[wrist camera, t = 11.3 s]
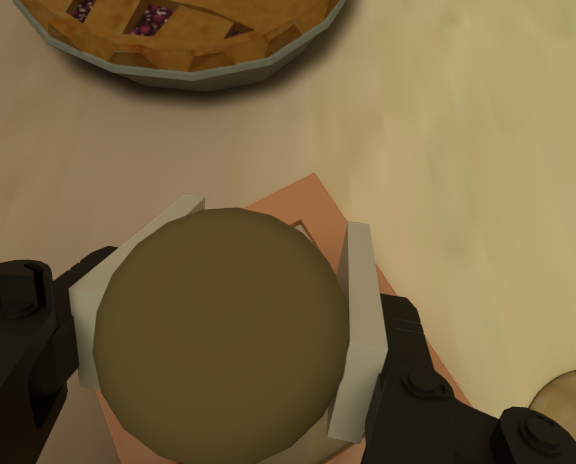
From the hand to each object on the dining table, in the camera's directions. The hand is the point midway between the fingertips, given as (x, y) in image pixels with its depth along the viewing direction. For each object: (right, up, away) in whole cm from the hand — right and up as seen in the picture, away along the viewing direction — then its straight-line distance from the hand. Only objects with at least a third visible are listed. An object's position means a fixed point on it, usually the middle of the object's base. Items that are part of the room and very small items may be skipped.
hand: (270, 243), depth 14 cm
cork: (-1, -5, +3) cm, 6 cm away
